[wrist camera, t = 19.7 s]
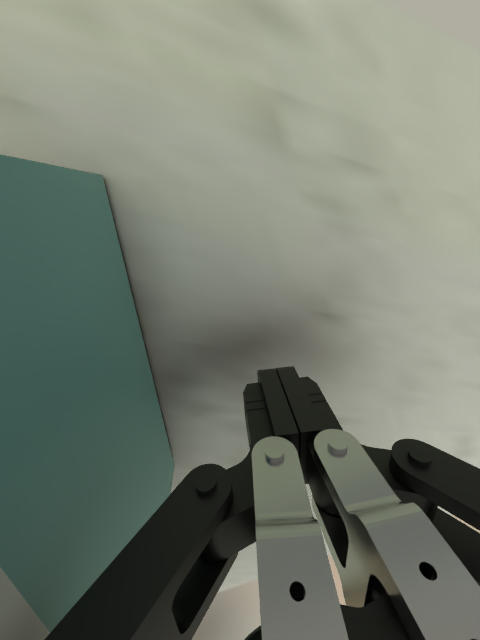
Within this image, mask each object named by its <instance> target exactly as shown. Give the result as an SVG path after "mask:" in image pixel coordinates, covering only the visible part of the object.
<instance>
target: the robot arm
mask: <svg viewBox="0 0 480 640" xmlns="http://www.w3.org/2000/svg"><path fill="white" fill-rule="evenodd" d="M257 374H258V383H252V384H247V385H246V387H245V390H244V392H243V397H244V408H245V419H246V427H247V433H248V440H249V447H250V451H249V453H248V455H247V457H246V458H245V459H244V460H243V461H242V462H240V463H239V464H237V465H235V466H233V467H231V468H229V469H227V470H226V469H225V468H223V467H222V466H219V465H216V464H204V465H201V466H198V467H196V468H195V469H193V470H192V471H191V472H190V473H189V474H188V475H187V476H186V477H185V478H184V479H183V480H182V482H181V483H180V484H179V485H178V486H177V487H176V489H175V490H174V491H173V492H172V493H171V494H170V495H169V497H168V498H167V499H166V500H165V501H164V502H163V503H162V505H161V506H160V507H159V508H158V509H157V510H156V512H155V513H154V514H153V515H152V516H151V517H150V518H149V520H148V521H147V522H146V523H145V524H144V525H143V527H142V528H141V529H140V530H139V531H138V532H137V533H136V535H135V536H134V537H133V538H132V539H131V540H130V542H129V543H128V544H127V545H126V546H125V547H124V548H123V550H122V551H121V552H120V553H119V554H118V555H117V556H116V558H115V559H114V560H113V561H112V562H111V563H110V565H109V566H108V567H107V568H106V569H105V570H104V571H103V573H102V574H101V575H100V576H99V577H98V578H97V580H96V581H95V582H94V583H93V584H92V585H91V586H90V588H89V589H88V590H87V591H86V592H85V593H84V594H83V596H82V597H81V598H80V599H79V600H78V601H77V603H76V604H75V605H74V606H73V607H72V608H71V609H70V611H69V612H68V613H67V614H66V615H65V616H64V618H63V619H62V620H61V621H60V622H59V623H58V624H57V626H56V627H55V628H54V629H53V630H52V631H51V632H50V634H49V635H48V636H47V637H46V638H45V639H44V640H191V639H192V637H193V636H194V634H195V632H196V630H197V628H198V626H199V625H200V623H201V621H202V619H203V617H204V616H205V614H206V612H207V610H208V608H209V606H210V604H211V603H212V601H213V599H214V597H215V595H216V594H217V592H218V590H219V588H220V586H221V585H222V583H223V581H224V579H225V577H226V576H227V574H228V572H229V570H230V568H231V566H232V565H233V563H234V561H235V559H236V557H237V555H238V552H239V551H240V550H242V549H244V548H245V547H247V546H249V545H251V544H252V543H254V542H256V545H257V562H258V580H259V594H260V595H259V596H260V614H261V626H259V627H258V628H256V629H255V630H254V631H253V632H252V633H250V634H249V635H248V636H247V637H246V638H245V640H480V533H478V532H477V531H475V530H473V529H472V528H470V527H468V526H467V525H465V524H463V523H462V522H460V521H458V520H457V519H455V518H453V517H452V516H450V515H448V514H447V513H445V512H444V511H442V510H440V509H439V508H437V507H438V506H440V507H441V508H443V509H445V510H446V511H448V512H450V513H451V514H453V515H455V516H456V517H458V518H460V519H461V520H463V521H465V522H466V523H468V524H470V525H471V526H473V527H475V528H476V529H478V530H480V469H479V468H477V467H475V466H473V465H470V464H468V463H466V462H464V461H462V460H460V459H458V458H456V457H454V456H452V455H450V454H448V453H446V452H443V451H441V450H439V449H437V448H435V447H433V446H431V445H429V444H427V443H424V442H422V441H419V440H414V439H402V440H399V441H397V442H395V443H394V444H393V446H392V450H386V449H379V448H372V447H367V446H364V445H361V444H360V443H359V442H358V440H357V439H356V438H355V437H354V436H352V435H351V434H349V433H347V432H345V431H343V429H342V428H341V426H340V424H339V422H338V420H337V419H336V417H335V415H334V413H333V411H332V410H331V408H330V406H329V404H328V403H327V402H326V399H325V397H324V395H322V392H321V390H320V388H319V386H318V385H317V383H315V382H314V381H313V380H311V379H310V378H309V377H302V378H299V376H298V374H297V372H296V370H295V368H294V367H293V366H292V367H283V368H276V369H266V370H258V372H257ZM308 483H309V486H310V489H311V492H312V507H313V510H314V512H315V515H316V517H317V519H314V517H313V515H312V511H311V507H310V503H309V498H308V494H307V490H306V486H305V484H308ZM317 520H318V521H317ZM318 522H319V523H318ZM319 525H320V526H319ZM320 527H321V529H320ZM321 530H322V532H323V535H324V537H325V540H326V542H327V545H328V547H329V550H330V552H331V555H332V557H333V560H334V562H335V565H336V567H337V570H338V573H339V575H340V579H341V583H342V588H343V594H344V598H345V602H346V605H340V604H339V599H338V595H337V592H336V588H335V584H334V580H333V576H332V572H331V568H330V564H329V560H328V556H327V552H326V548H325V544H324V540H323V536H322V533H321Z"/></svg>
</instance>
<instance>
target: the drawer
mask: <svg viewBox="0 0 480 640" xmlns="http://www.w3.org/2000/svg"><path fill="white" fill-rule="evenodd" d="M173 472H174V462H173V458H172V454H171V450H170V446H169V442H168V438H167V434H166V430H165V426H164V422H163V418H162V414H161V410H160V406H159V402H158V398H157V394H156V390H155V386H154V382H153V378H152V374H151V370H150V366H149V361H148V357H147V353H146V349H145V345H144V341H143V337H142V333H141V329H140V325H139V321H138V317H137V313H136V309H135V305H134V301H133V297H132V293H131V289H130V285H129V281H128V277H127V273H126V269H125V265H124V261H123V257H122V253H121V249H120V245H119V241H118V236H117V232H116V228H115V224H114V220H113V216H112V212H111V208H110V204H109V200H108V196H107V192H106V188H105V184H104V180H103V176H102V175H98V174H93V173H88V172H83V171H79V170H74V169H69V168H64V167H59V166H54V165H49V164H44V163H39V162H34V161H29V160H24V159H19V158H14V157H9V156H4V155H0V640H44V639H45V638H46V637H47V636H48V635H49V634H50V632H51V631H52V630H53V629H54V628H55V627H56V626H57V624H58V623H59V622H60V621H61V620H62V619H63V618H64V616H65V615H66V614H67V613H68V612H69V611H70V609H71V608H72V607H73V606H74V605H75V604H76V603H77V601H78V600H79V599H80V598H81V597H82V596H83V594H84V593H85V592H86V591H87V590H88V589H89V588H90V586H91V585H92V584H93V583H94V582H95V581H96V580H97V578H98V577H99V576H100V575H101V574H102V573H103V571H104V570H105V569H106V568H107V567H108V566H109V565H110V563H111V562H112V561H113V560H114V559H115V558H116V556H117V555H118V554H119V553H120V552H121V551H122V550H123V548H124V547H125V546H126V545H127V544H128V543H129V542H130V540H131V539H132V538H133V537H134V536H135V535H136V533H137V532H138V531H139V530H140V529H141V528H142V527H143V525H144V524H145V523H146V522H147V521H148V520H149V518H150V517H151V516H152V515H153V514H154V513H155V512H156V510H157V509H158V508H159V507H160V506H161V505H162V503H163V502H164V501H165V500H166V499H167V498H168V497H169V495H170V493H171V486H172V479H173Z"/></svg>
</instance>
